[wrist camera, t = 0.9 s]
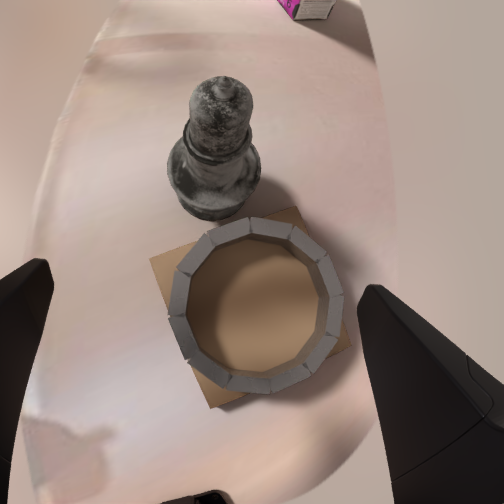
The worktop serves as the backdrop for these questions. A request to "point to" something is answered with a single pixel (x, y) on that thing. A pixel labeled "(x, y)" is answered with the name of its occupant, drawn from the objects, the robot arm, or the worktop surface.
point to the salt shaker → (216, 151)
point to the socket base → (253, 305)
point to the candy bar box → (307, 8)
